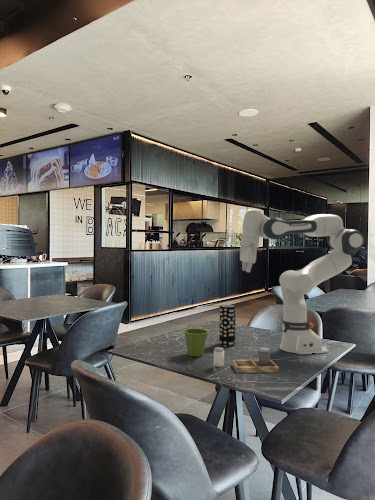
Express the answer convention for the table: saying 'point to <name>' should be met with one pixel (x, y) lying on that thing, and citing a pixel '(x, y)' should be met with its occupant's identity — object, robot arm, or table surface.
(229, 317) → the spotted tube
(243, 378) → the table surface
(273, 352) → the table surface
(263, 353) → the pepper shaker
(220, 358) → the salt shaker
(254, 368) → the caddy
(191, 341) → the plant pot
